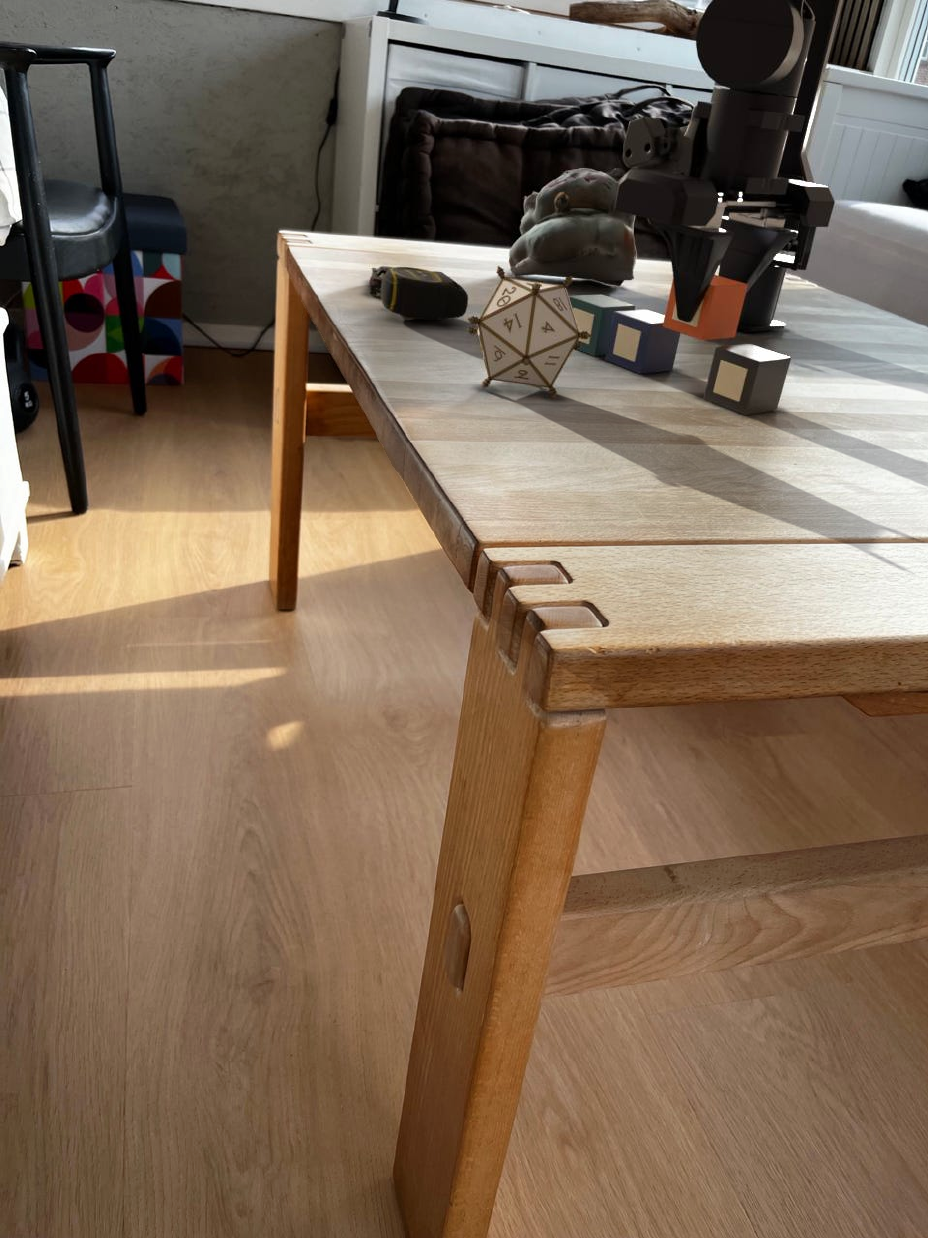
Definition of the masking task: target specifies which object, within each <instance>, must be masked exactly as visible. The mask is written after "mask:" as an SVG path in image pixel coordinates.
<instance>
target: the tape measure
mask: <svg viewBox="0 0 928 1238" xmlns="http://www.w3.org/2000/svg"><path fill="white" fill-rule="evenodd" d="M393 267H394V268H391V269H388V270H387V271H386V274H385V276H384V277H383V279H382V285H381V293H380V299H381V303H382V306H383V307H384V308H385V309H386V310H388V311H390V312H392V313H394V314H395V315H399V316H400V317H401V318H403V320H405V321H411V320H423V321H434V320H435V321H436V320H451V319H457V318H461V317H463V316H464V315H465V314H466V312H467V308H468V303H469V295H468V293H467V291H466V290H465V289H464V287H463V286H462V285H460V284H459V282H457V281H455V280H454V279H453V278H451V277H450V276H448V275H447V274H445V273H444V272H443V271H436V270H434V271H433V270H428V269H423V268H418V267H411V266H393Z"/></svg>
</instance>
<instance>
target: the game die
mask: <svg viewBox="0 0 928 1238" xmlns="http://www.w3.org/2000/svg"><path fill="white" fill-rule="evenodd" d="M496 269H497V270H496V274H497V277H499V279H500V280H499V282H498V283H497V286H496V287H495V289H494V291H493V292H492V294H491V296H490V298H489V300H488V301H487V303H486V305H485V306H484V309H483V311H482V312H481V314H480V316H479V317H478V316H475V315H472V316H471V317H469V318H467V321H468V322H469V323H470V325H475V326H469V327H468V328H467V329H466V331H467V332H468V333H469V334H470V335H472V334H473V335H475V334H476V336H477V340H478V343H479V347H480V350H481V355H482V358H483V362H484V366H485V369H486V373H487V378H484V379H483V381H482V387H481V390H483V389H486V388H489V386H490V385H491V382H492V381H496V382H503V383H504V382H505V383H511V384H517V385H518V384H519V385H526V386H535V387H540V388H547V389H548V391H547V392H548V393H549V396H551V397H552V398H553V399H556V398H557V393H558V391H557V390H556V388H555V387H554V384H555V382H556V381H557V378H558V377H559V375H560V373H561V371H562V370H563V368H564V366H565V364H566V363H567V361H568V359H569V357H570V355H572V352H573V351H574V349H575V347H576V349H575V350H577V348H578V347H580V346H582V345H581V343H580V342H579V341H578V340H579V338H582V339H588V338H589V337H590V336H591V335H590V334H589V333H588V332H587V331H586V332H584V331H583V332H581V333H580V331H579V328H578V325H577V322H576V318H575V315H574V312H573V309H572V306H571V303H570V300H569V296H570V295H569V294H568V290H567V287H570V286H571V284H573V281H572V280H573V278H572V276H570V277H568V278H567V277H565V280H563V283H562V284H560V283H553V282H546V281H539V280H533V279H532V280H530V279H523V278H518V277H516V278H515V277H509V276H506V275H505V273H506V272H505V271H504V270H505V269H504V268H502V267H501V266H499V265H497V268H496Z"/></svg>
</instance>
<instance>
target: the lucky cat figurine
mask: <svg viewBox="0 0 928 1238" xmlns="http://www.w3.org/2000/svg"><path fill="white" fill-rule="evenodd" d="M625 174H626V173H625V171H624V169H623V168H619V167H618V168H614V169H610V170H607V171H606V172H603V171H599V170H595V169H592V168H586V167H582V168H578V169H577V168H576V169H571V170H566V171H564V172H563V173H562V174H561V175H560V176H559V177H557V178H556V179H553V180H552V181H550V182H549V183H547V184H546V185H545V186H543V187H542V188H541V190H540V191H539V192H537V191H534V190H533V191H532V193H531V194H530V195H528V196H527V195H524V197H523V199H524V200H523V211H524V215H523V216H522V218H521V220H520V222H521V223H520V226H519V232H520V234H521V236H520V237H519V238H518V239H517V240H516V241H515V242H514V243H513V244H512V246H511V247H510V249H509V251H508V252H509V253H508V256H509V257H508V258H509V259H508V264H509V267H510V272H511V274H512V275H513V276H514V278H519V277H522V276H543V277H545V276H547V277H556V278H566V277H567V278H568V277H570V276H572V279H579V280H589V281H590V280H592V281H595V282H598V283H601V284H605V285H608V286H609V285H610V286H614V287H621V285H622V284H623V283H624V282H625V281H633V280H635V276H634V270H635V267H636V262H637V257H638V252H637V251H638V250H637V248H636V238H635V234H634V225H635V219H636V215H632V214H628V213H624V212H620V211H617V210H614V206H615V201H616V195H617V190H618V185H619V180H620V179H621V178H622V177H623V176H624V175H625Z"/></svg>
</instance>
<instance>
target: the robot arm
mask: <svg viewBox="0 0 928 1238" xmlns="http://www.w3.org/2000/svg"><path fill="white" fill-rule="evenodd" d="M843 2H844V0H711V1H710V3H708V5H707V6H706V9H705V10H704V12H703V14H702V15H701V18H700V19H699V21H698V25H697V30H696V38H695V48H696V54H697V58H698V61H699V63H700V66H701V68H702V69H703V71H704V72H705V74H706V75H707V77H708V78H710V79H711V80H712V81H713V82H714V83H713V84H714V85H713V88H712V94H711V99H710V102H709V101H702V100H697V104H696V105H695V106H694V107H693V109H692V112H691V117H690V122H689V123H688V125H685V126H681V127H666V128H665V126H664V125H663V123H662V120H661V119H660V118H658V117H649V116H642V117H638V118H636V119H633V120H629V123H628V126H627V130H626V135H625V139H624V142H623V149H622V150H623V154H622V161H623V163H624V165H625V166H626V167H627V168H629V170H628V171H627V172H626V173H624V174H625V175H624V176H623V177H622V178H621V179H620V180H619V185H618V190H617V195H616V201H615V206H614V210H617V211H620V212H624V213H628V214H632V215H635V217H640V218H643V219H647V222H648V224H649V225H651V226H654V227H656V228H657V229H658V231H659V232H660V234H661V235H662V237H663V238H664V240H665V241H666V244H667V247H668V252H669V257H670V263H671V271H672V281H674V291H675V300H676V310H677V317H678V319H679V320H681V321H684V322H691V321H692V319H693V317H694V315H695V313H696V312H697V310H698V308H699V306H700V304H701V303H702V300H703V298H704V296H705V294H706V292H707V290H708V288H709V285H710V283H711V281H712V279H713V277H714V275H716V273H717V271H718V274H717V275H718V276H721V277H724V278H728V279H731V280H735V281H738V282H742V283H745V284H748V286H747V290H746V294H745V298H744V302H743V306H742V310H741V314H740V318H739V322H738V326H737V330H741V331H744V332H747V333H748V332H749V333H750V332H751V333H753V332H761V331H764V332H765V331H772V330H783V329H785V328H786V323H784V322H781V321H778V320H774V317H775V314H776V310H777V307H778V303H779V300H780V299H779V298H780V295H781V292H782V288H783V285H784V281H785V278H786V277H785V276H786V273H787V270H788V269H789V270H791V271H793V272H797V271H807V268H808V265H809V262H810V257H811V253H812V249H813V246H814V241H815V236H816V232H817V228H829V224H830V222H831V217H832V214H833V210H834V206H835V204H836V201H835V199H834V197H833V194H832V192H831V190H830V187H829V186H828V185H827V186H826V185H822V184H816V183H815V179H814V176H813V172H812V169H811V166H810V162H809V159H808V156H807V155H808V154H807V152H806V149H807V145H808V140H809V137H810V132H811V129H812V124H813V121H814V116H815V113H816V109H817V105H818V101H819V97H820V93H821V90H822V86H823V81H824V77H825V74H826V70H827V65H828V61H829V57H830V54H831V49H832V46H833V42H834V38H835V34H836V30H837V26H838V22H839V18H840V14H841V10H842V7H843ZM780 252H781V253H787V254H788V253H794V256H791V255H786V254H781V253H780Z"/></svg>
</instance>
